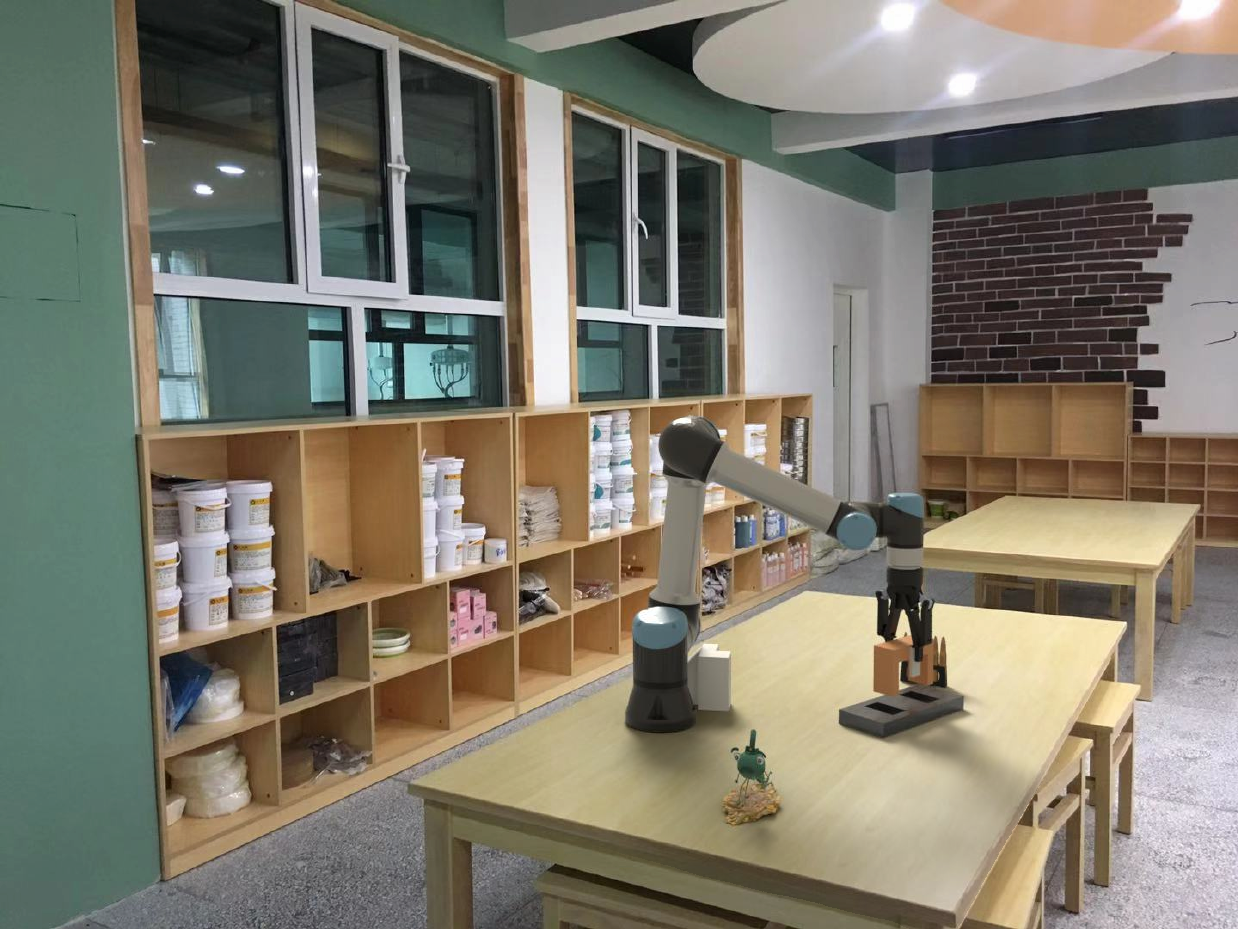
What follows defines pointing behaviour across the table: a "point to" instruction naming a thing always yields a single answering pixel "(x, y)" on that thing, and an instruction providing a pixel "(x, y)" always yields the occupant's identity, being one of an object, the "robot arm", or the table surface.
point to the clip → (888, 665)
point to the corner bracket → (710, 678)
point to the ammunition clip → (938, 665)
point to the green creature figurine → (751, 787)
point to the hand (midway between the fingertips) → (903, 672)
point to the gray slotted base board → (900, 710)
